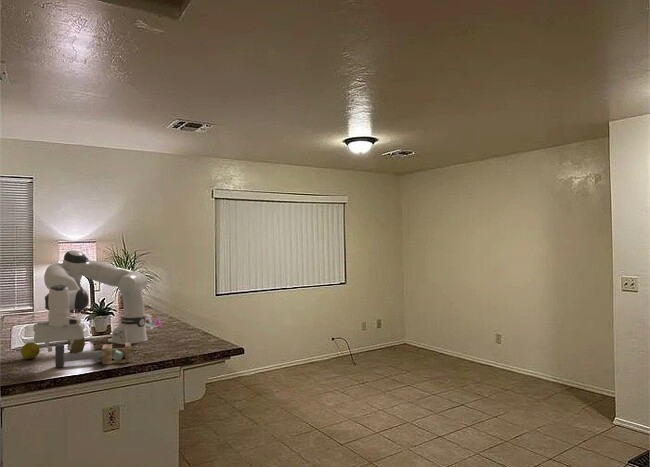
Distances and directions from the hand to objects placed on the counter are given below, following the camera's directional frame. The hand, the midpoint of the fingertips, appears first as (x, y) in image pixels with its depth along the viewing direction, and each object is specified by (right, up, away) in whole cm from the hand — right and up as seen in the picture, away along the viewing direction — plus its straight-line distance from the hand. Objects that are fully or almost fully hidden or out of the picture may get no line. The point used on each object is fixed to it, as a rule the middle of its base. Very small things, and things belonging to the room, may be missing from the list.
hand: (59, 350), depth 217 cm
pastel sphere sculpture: (+2, -8, +93) cm, 93 cm away
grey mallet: (+9, -7, +4) cm, 12 cm away
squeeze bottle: (-7, -8, +28) cm, 30 cm away
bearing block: (+22, -7, +9) cm, 25 cm away
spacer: (+22, -6, +9) cm, 25 cm away
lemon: (-23, -8, +16) cm, 29 cm away
